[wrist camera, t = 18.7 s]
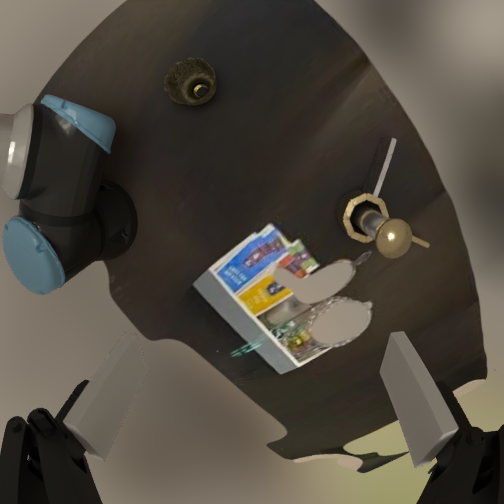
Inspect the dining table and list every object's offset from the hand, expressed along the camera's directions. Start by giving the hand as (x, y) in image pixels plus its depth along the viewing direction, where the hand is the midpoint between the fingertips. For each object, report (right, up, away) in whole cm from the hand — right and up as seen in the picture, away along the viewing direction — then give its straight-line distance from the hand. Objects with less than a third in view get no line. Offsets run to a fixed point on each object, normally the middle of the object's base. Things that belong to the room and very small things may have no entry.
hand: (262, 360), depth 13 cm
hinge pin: (+17, +12, +31) cm, 38 cm away
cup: (-9, +32, +26) cm, 42 cm away
